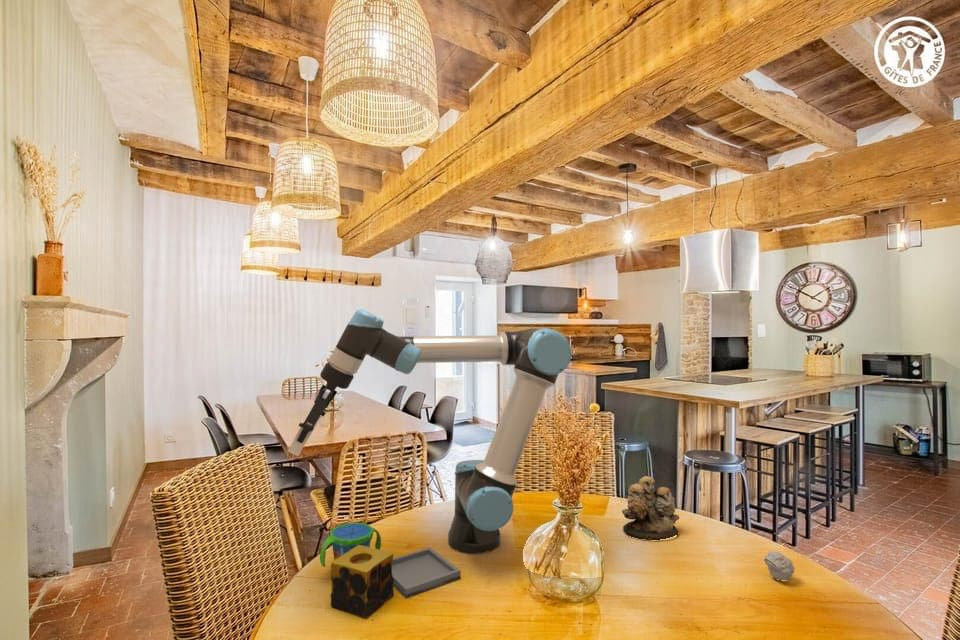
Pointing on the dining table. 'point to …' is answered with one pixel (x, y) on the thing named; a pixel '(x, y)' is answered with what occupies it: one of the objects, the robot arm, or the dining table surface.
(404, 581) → the tray
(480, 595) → the dining table surface
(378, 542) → the snack cup
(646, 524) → the owl figurine
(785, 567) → the grey rounded lump
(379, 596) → the candle
